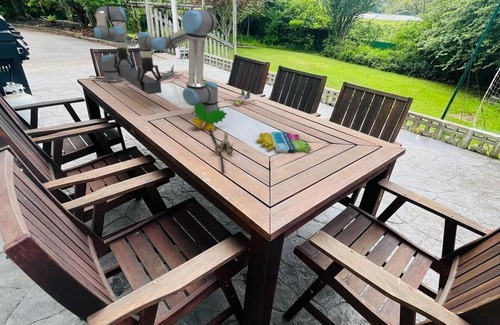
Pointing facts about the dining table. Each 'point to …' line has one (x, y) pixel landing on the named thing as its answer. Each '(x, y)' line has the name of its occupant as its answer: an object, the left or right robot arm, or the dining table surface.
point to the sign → (283, 142)
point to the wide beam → (131, 75)
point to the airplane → (168, 74)
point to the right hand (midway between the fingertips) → (150, 90)
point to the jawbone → (224, 145)
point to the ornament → (207, 117)
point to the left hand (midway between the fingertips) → (126, 75)
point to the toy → (241, 99)
